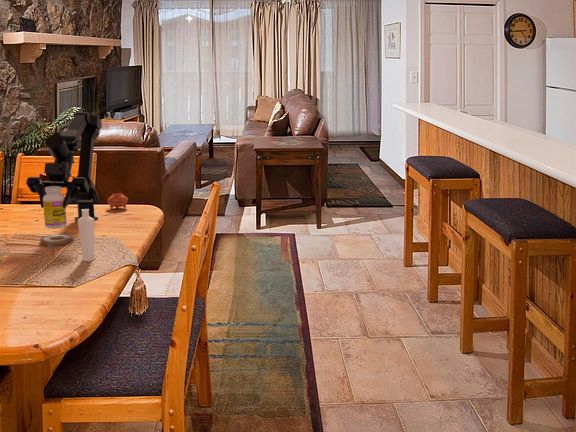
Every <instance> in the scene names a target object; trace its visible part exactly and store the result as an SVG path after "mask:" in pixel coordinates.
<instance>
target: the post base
mask: <svg viewBox="0 0 576 432" xmlns="http://www.w3.org/2000/svg"><path fill="white" fill-rule="evenodd" d="M71 242H72V243H73V242H74V236H73V235H71V234H67V233H66V232H61V233H58V234H51V235H50V234H49V235H46V236H42V237H41V238H40V239H39V243H40V245H41V246H45V247H47V248H49V249H50V248H53V247H59V246H66V245H69V243H70V244H72V243H71Z"/></svg>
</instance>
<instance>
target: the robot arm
mask: <svg viewBox="0 0 576 432" xmlns="http://www.w3.org/2000/svg"><path fill="white" fill-rule="evenodd" d="M102 126H103V125H102V119H100V118H99V117H98V116H96V115H94V114H91V113H90V112H87V111H76V112H74V113H73V118H72V119H71V122H70V123H69V125H68V127H67V129H66V130H64V131H61V132H60V131H59V132H58V131H54V132H53V134H51V135H49V136H48V137H47V138H46V139H45V142H44V143H45V146H46V148H47V149H48V151H49V154H50V155H51V158H52V157H53V158H54V159H53V162H45V163H44V170H43V171H44V172H43V173H44V174H46V178H47V180H42V178H41V176H29V177H27V179H26V182H25V184H26V186H27V188H28V189H29V191H30V192H31V193H33V194H37V195H39V196H38V197H39V202H40V207H41V208H42V209H44V207H43V197H44V196H45V195H46V191H45V188H46V187H49V186H60V187H61V189H66V193H65V195H64V197H65V199H64V203H63V207H64V208H67V207H68V206H69V204H70V203H71V204H73V205H74V204H76V206H77V216H76V217H75V216H74V219H75V220H77V221H78V219H79V218H81V217H82V211H81V210H82V209H89V216H90V217H91V218H93V219H94V221H95V220H98V219H99V216H98V217H97V216H96V215H95V204H99V202H100V198H99V197H100V196H99V193H98V192H97V189H96V185H95V182H94V181H93V178H92V170H93V159H94V158H93V157H94V149H95V141H96V139H97V138H98V137H99V136H100V131H101V130H102ZM78 152H79V159H78V169H77V170H78V171H77V176H76V177H75V176H73V177H72V173H71V170H72V166H73V164H75V160H74V157H75V156H74V154H73V153H78ZM71 177H72V180H71V181H70V178H71Z"/></svg>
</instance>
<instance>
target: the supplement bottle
mask: <svg viewBox="0 0 576 432" xmlns="http://www.w3.org/2000/svg"><path fill="white" fill-rule="evenodd" d="M45 191H46V195H45V196H44V197H43V216H44V217H43V219H44V226H45V228H47V229H50V230H51V229H62V228H65V227H66V226H67V224H68V223H67V221H68V220H67V209H66V208H67V207H66V208H64V207H63V203H64V199H65V195H64V194H62V193H61V192H62V188H61V187H60V186H49V187H46V188H45Z"/></svg>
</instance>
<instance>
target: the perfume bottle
mask: <svg viewBox="0 0 576 432" xmlns="http://www.w3.org/2000/svg"><path fill="white" fill-rule="evenodd" d="M81 211H82V217H81V218H79V219H78V220H77V225H78V226H77V227H78V233H79V239H80V241H79V242H80V248H81V254H82V255H81V256H82V257H81V261H82V262H83V261H84V262H91V261H95V260H96V257H95V252H94V251H95V220H94V219H93V218H91V217H90V216H89V209H82V210H81Z"/></svg>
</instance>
